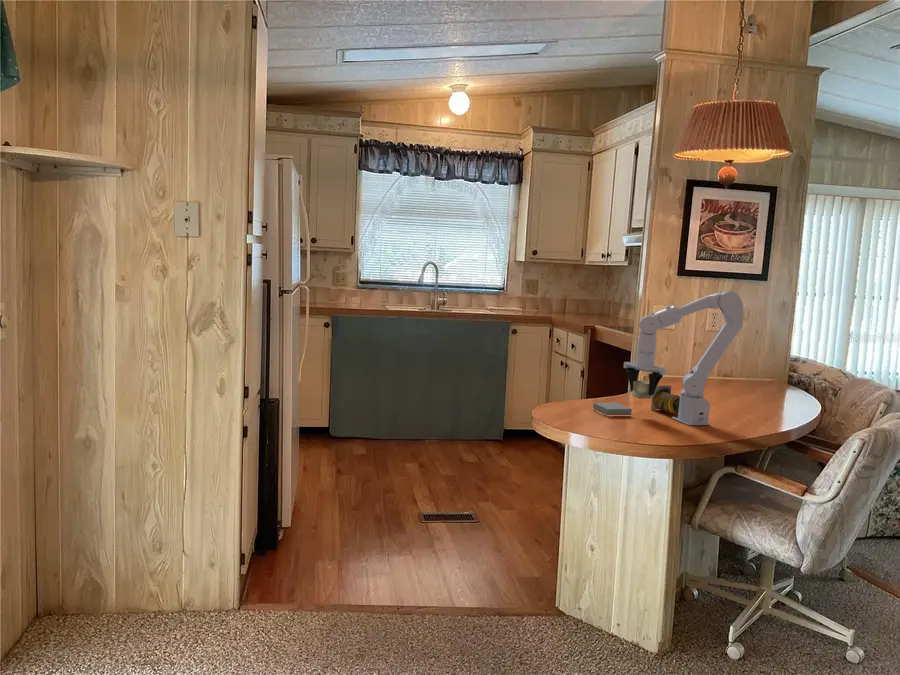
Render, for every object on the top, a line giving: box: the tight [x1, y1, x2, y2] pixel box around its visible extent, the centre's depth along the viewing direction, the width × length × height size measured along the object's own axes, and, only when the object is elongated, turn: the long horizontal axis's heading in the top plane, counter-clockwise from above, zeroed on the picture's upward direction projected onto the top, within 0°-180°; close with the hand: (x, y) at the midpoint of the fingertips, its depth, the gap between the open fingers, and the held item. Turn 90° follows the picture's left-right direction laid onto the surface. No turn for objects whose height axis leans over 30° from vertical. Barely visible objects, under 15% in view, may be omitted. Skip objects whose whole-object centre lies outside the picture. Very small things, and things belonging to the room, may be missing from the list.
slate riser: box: [592, 402, 633, 416], centre depth 225 cm, size 9×9×3 cm
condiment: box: [650, 385, 680, 414], centre depth 229 cm, size 7×8×12 cm
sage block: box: [631, 380, 652, 400], centre depth 223 cm, size 4×4×5 cm
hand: (642, 392), depth 223 cm, fingers closed on sage block, 6 cm apart
